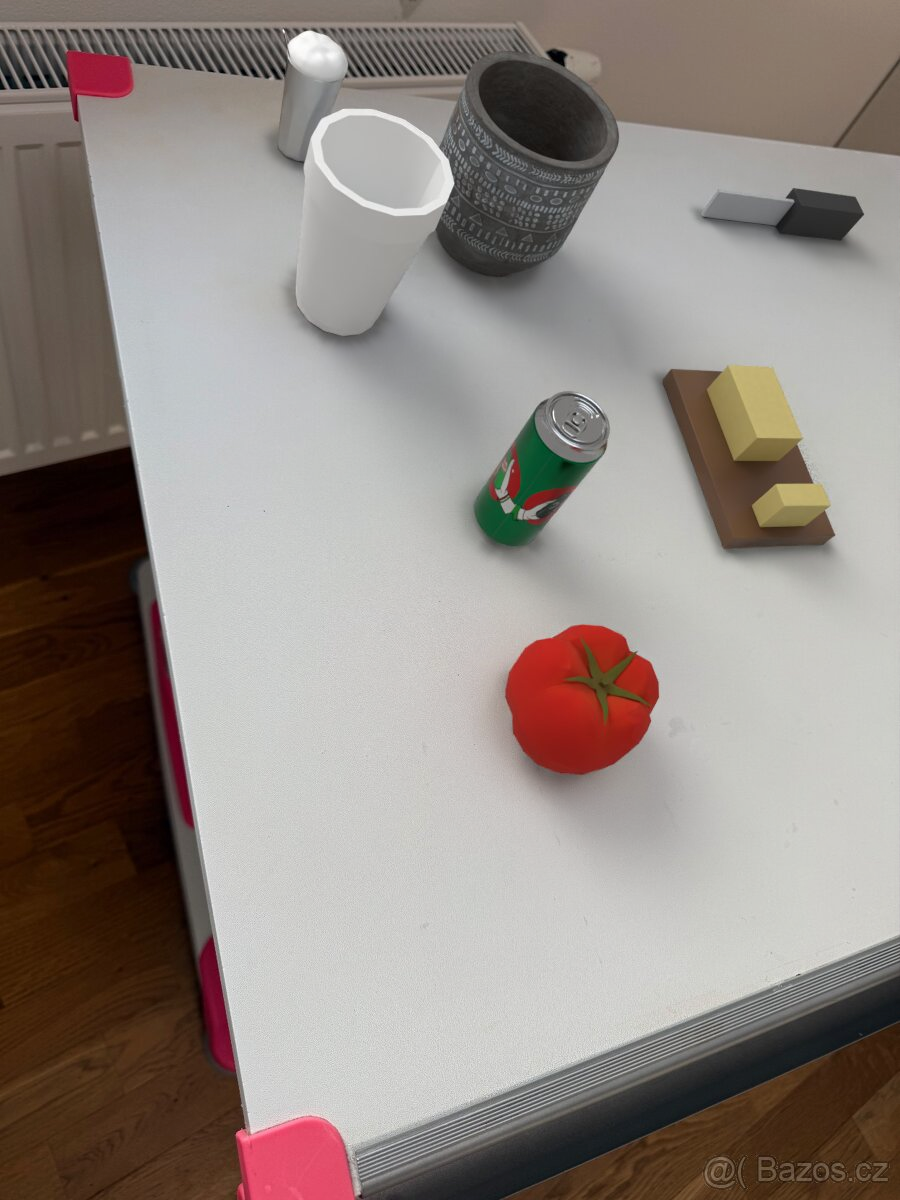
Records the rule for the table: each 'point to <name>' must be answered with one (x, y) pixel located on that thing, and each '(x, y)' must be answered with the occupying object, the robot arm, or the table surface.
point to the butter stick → (753, 413)
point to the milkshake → (308, 89)
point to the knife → (790, 211)
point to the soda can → (542, 468)
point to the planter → (521, 161)
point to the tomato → (580, 699)
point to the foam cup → (364, 214)
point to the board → (735, 471)
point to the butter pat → (790, 505)
